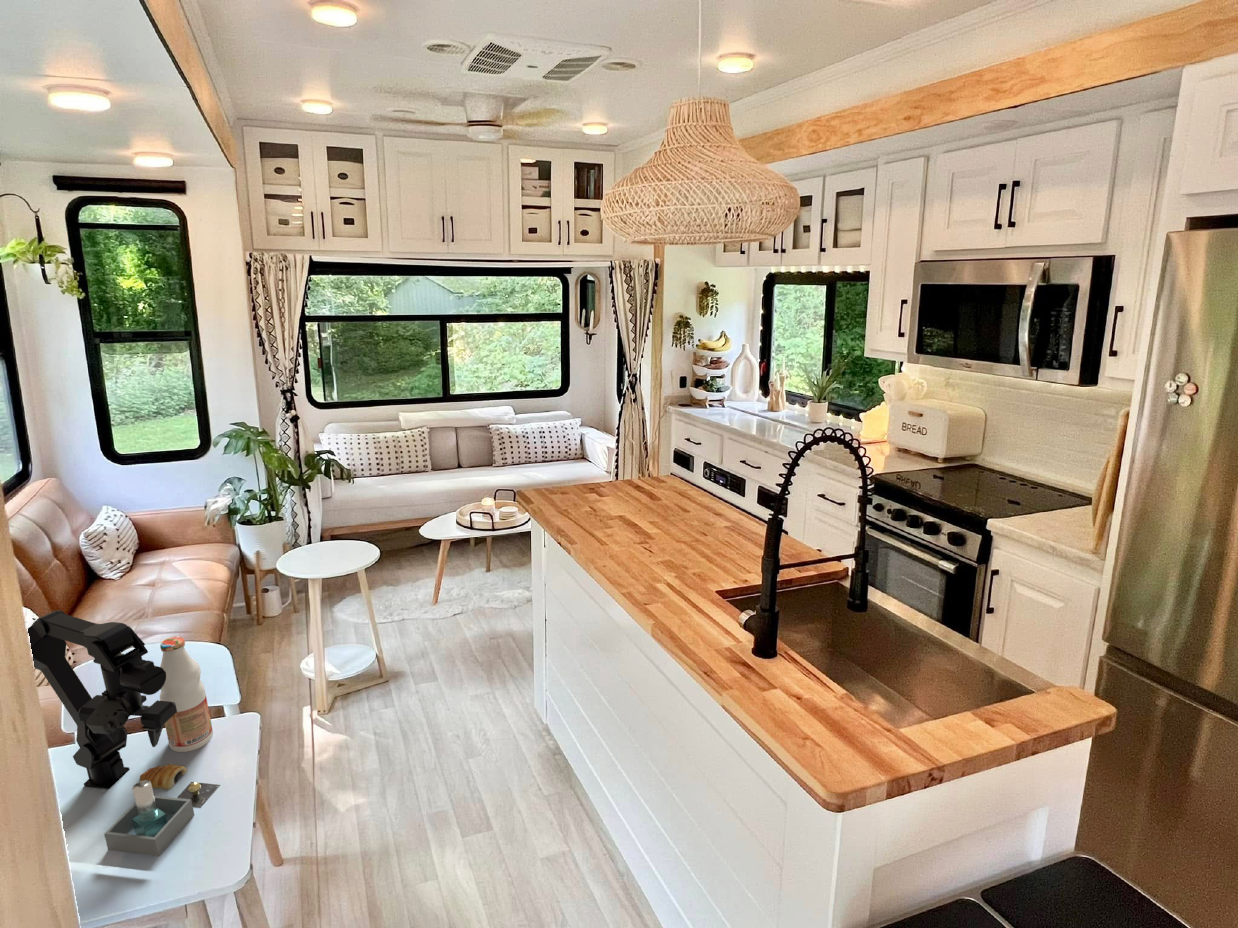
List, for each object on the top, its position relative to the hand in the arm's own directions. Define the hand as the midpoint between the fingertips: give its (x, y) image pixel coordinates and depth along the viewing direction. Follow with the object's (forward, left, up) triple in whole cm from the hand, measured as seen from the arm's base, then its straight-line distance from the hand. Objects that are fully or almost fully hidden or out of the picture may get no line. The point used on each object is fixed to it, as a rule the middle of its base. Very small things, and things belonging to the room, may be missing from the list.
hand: (135, 743), depth 167 cm
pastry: (+2, +4, -14) cm, 14 cm away
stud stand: (+12, 0, -13) cm, 18 cm away
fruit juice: (-1, +17, -13) cm, 22 cm away
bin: (+10, -11, -13) cm, 20 cm away
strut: (+10, -11, -12) cm, 19 cm away
